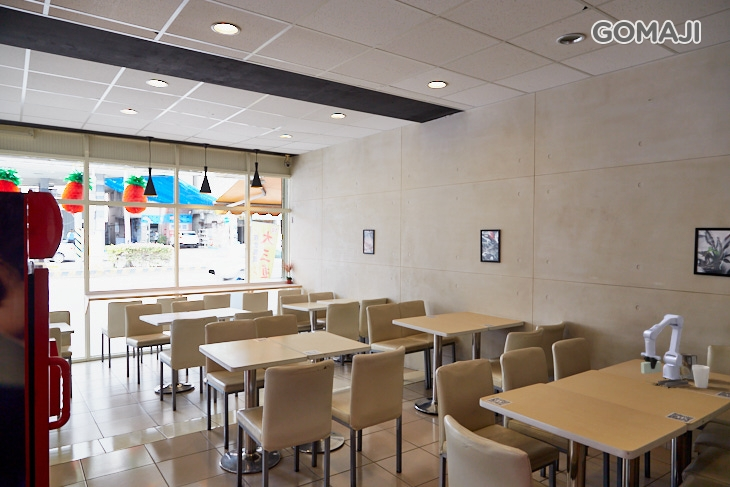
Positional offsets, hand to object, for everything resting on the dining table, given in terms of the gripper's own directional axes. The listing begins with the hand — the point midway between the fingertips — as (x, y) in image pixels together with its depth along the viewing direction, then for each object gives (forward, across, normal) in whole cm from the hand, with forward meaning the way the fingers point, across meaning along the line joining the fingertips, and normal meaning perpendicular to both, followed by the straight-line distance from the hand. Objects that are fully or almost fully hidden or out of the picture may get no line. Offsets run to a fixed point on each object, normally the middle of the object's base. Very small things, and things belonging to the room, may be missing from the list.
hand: (651, 368), depth 315 cm
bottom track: (+9, +10, +8) cm, 15 cm away
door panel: (+3, 0, 0) cm, 3 cm away
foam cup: (+10, +18, +21) cm, 29 cm away
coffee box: (+10, 0, +32) cm, 33 cm away
